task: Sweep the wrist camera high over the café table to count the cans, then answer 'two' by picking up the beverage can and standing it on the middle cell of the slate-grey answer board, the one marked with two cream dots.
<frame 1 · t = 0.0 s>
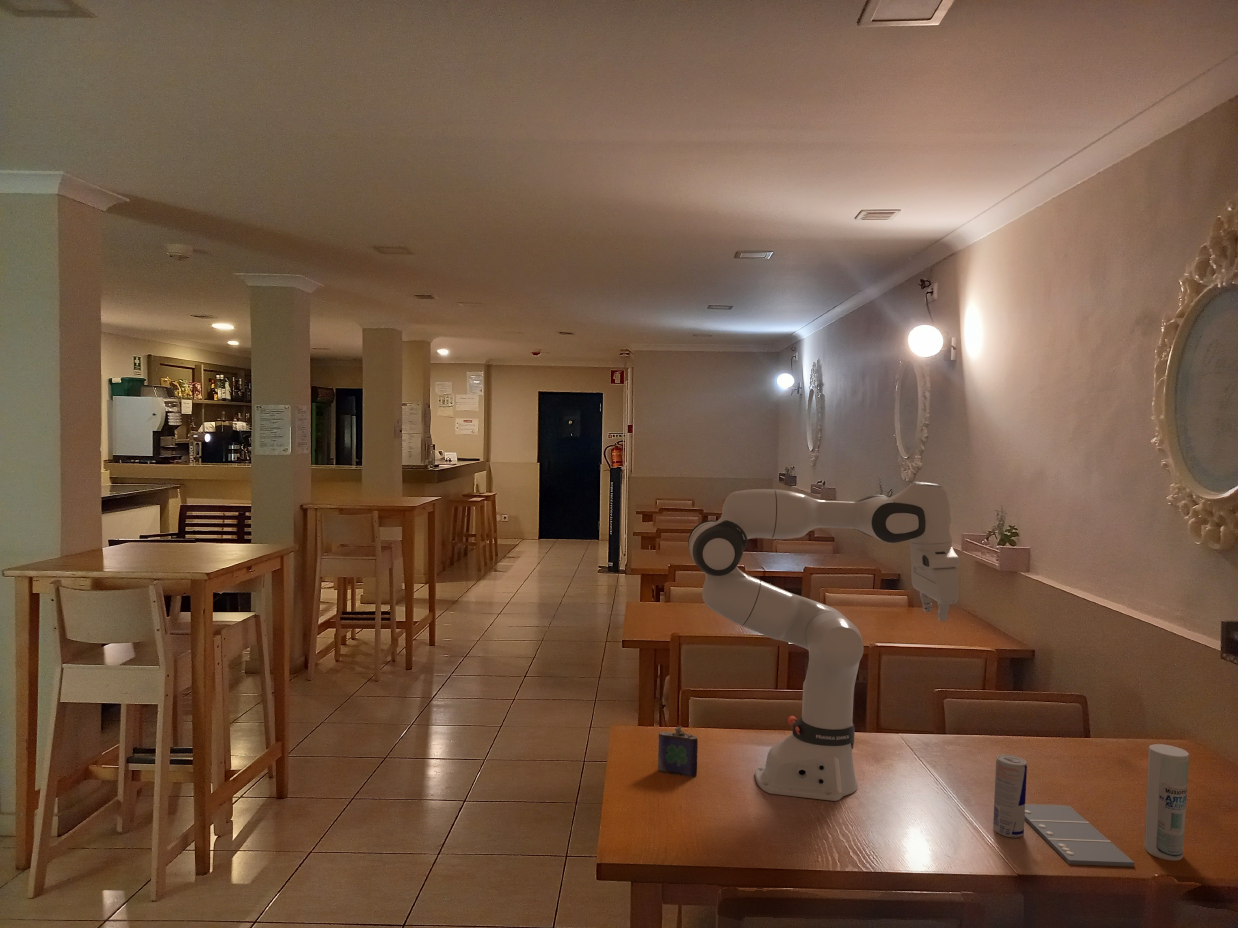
hand: (935, 615, 190), 39 cm above the table, tool pointing down, fingers open, 8 cm apart
answer board: (1068, 834, 170), on the table
spray can: (1163, 853, 164), on the table
flask: (677, 773, 196), on the table
beverage can: (1008, 833, 171), on the table
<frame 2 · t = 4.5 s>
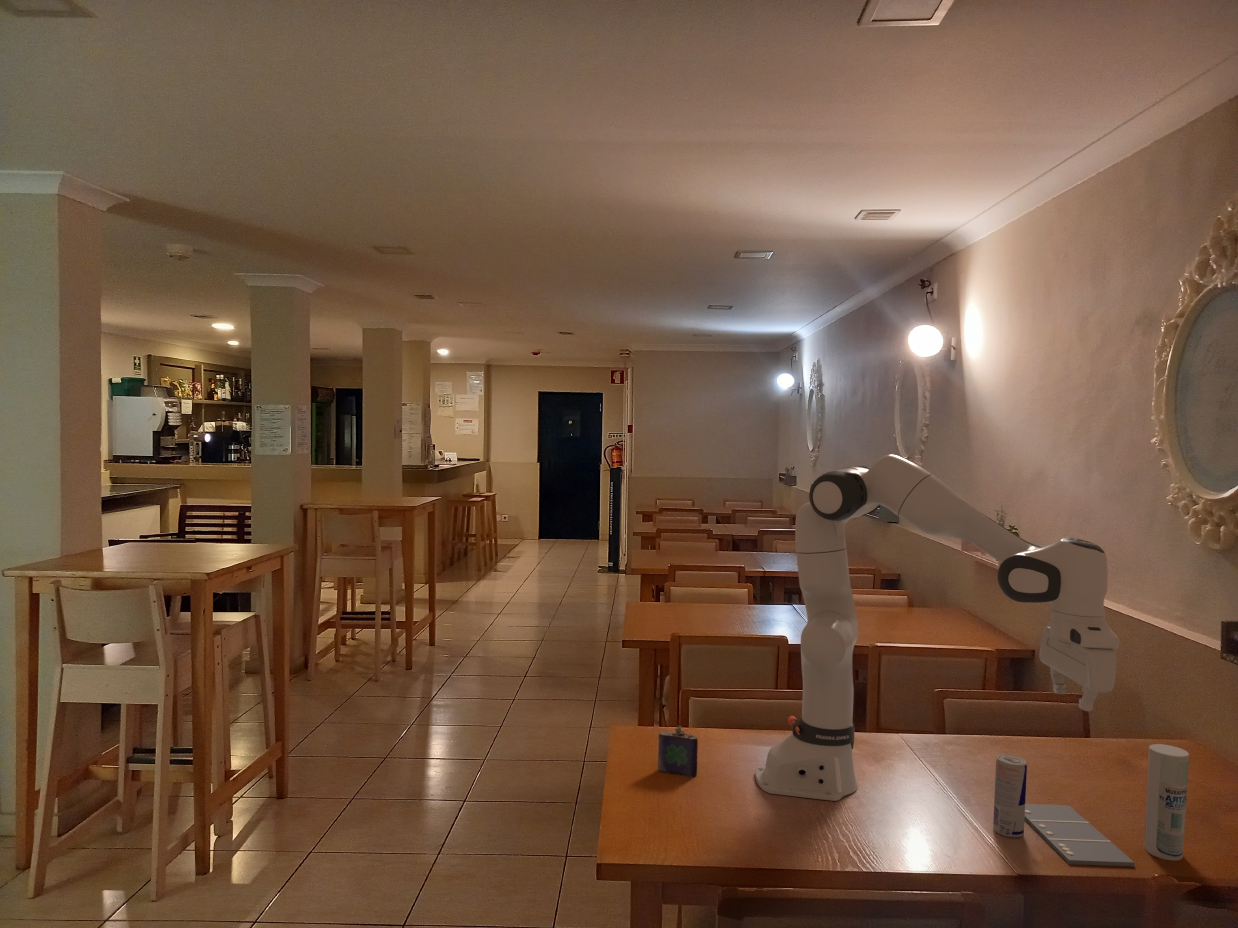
hand: (1071, 701, 158), 30 cm above the table, tool pointing down, fingers open, 8 cm apart
nothing on the table moved.
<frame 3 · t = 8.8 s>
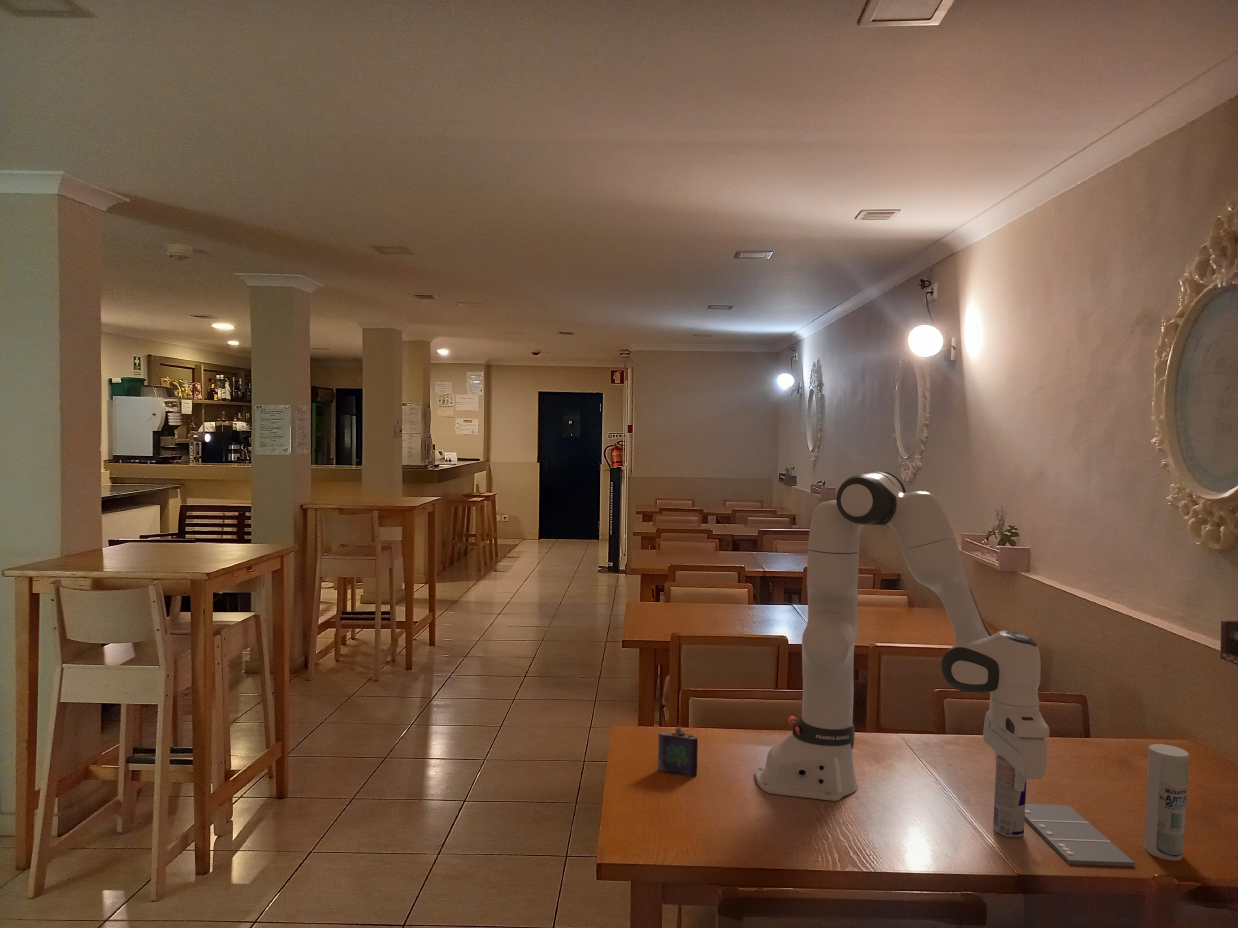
hand: (1010, 782, 170), 10 cm above the table, tool pointing down, fingers closed on beverage can, 5 cm apart
beverage can: (1008, 833, 171), on the table, touching gripper
everything else where it was.
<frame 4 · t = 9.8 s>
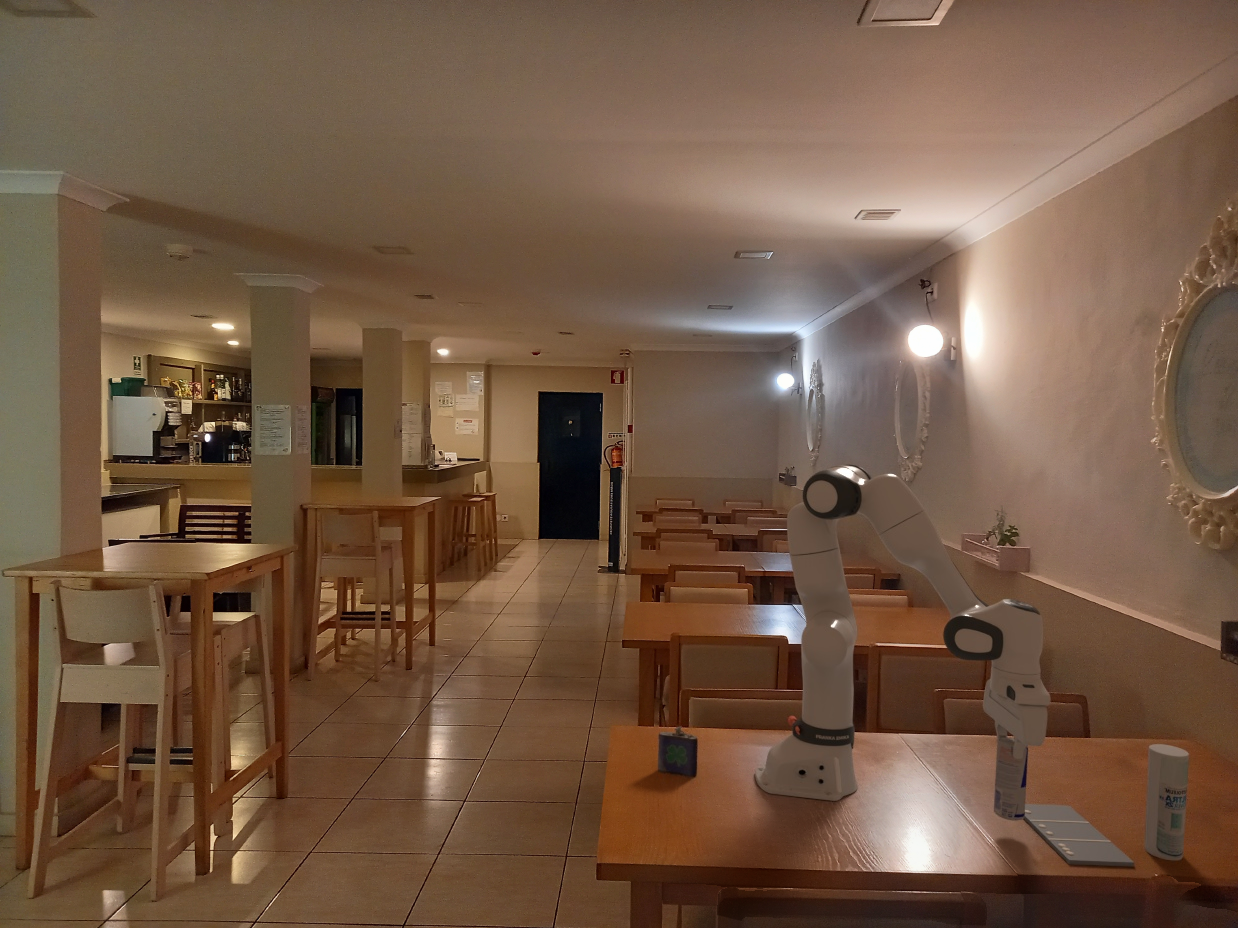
hand: (1009, 750, 170), 16 cm above the table, tool pointing down, fingers closed on beverage can, 5 cm apart
beverage can: (1008, 817, 170), point 3 cm above the table, touching gripper
everything else where it was.
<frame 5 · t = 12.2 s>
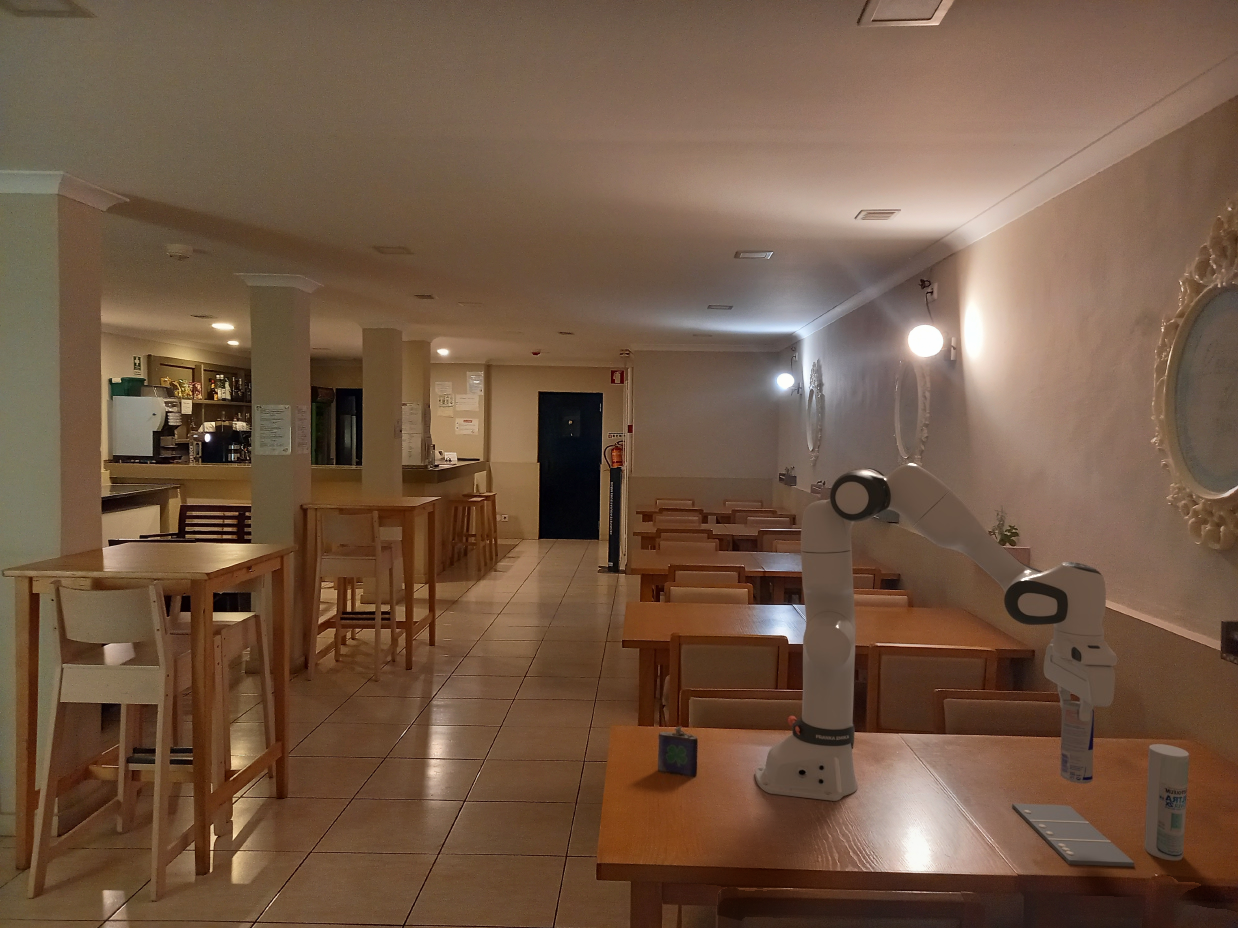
hand: (1074, 714, 169), 24 cm above the table, tool pointing down, fingers closed on beverage can, 5 cm apart
beverage can: (1076, 780, 169), point 11 cm above the table, touching gripper
everything else where it was.
when the fingers open (12 cm above the table, at t = 14.7 s): beverage can stays where it is, resting on answer board.
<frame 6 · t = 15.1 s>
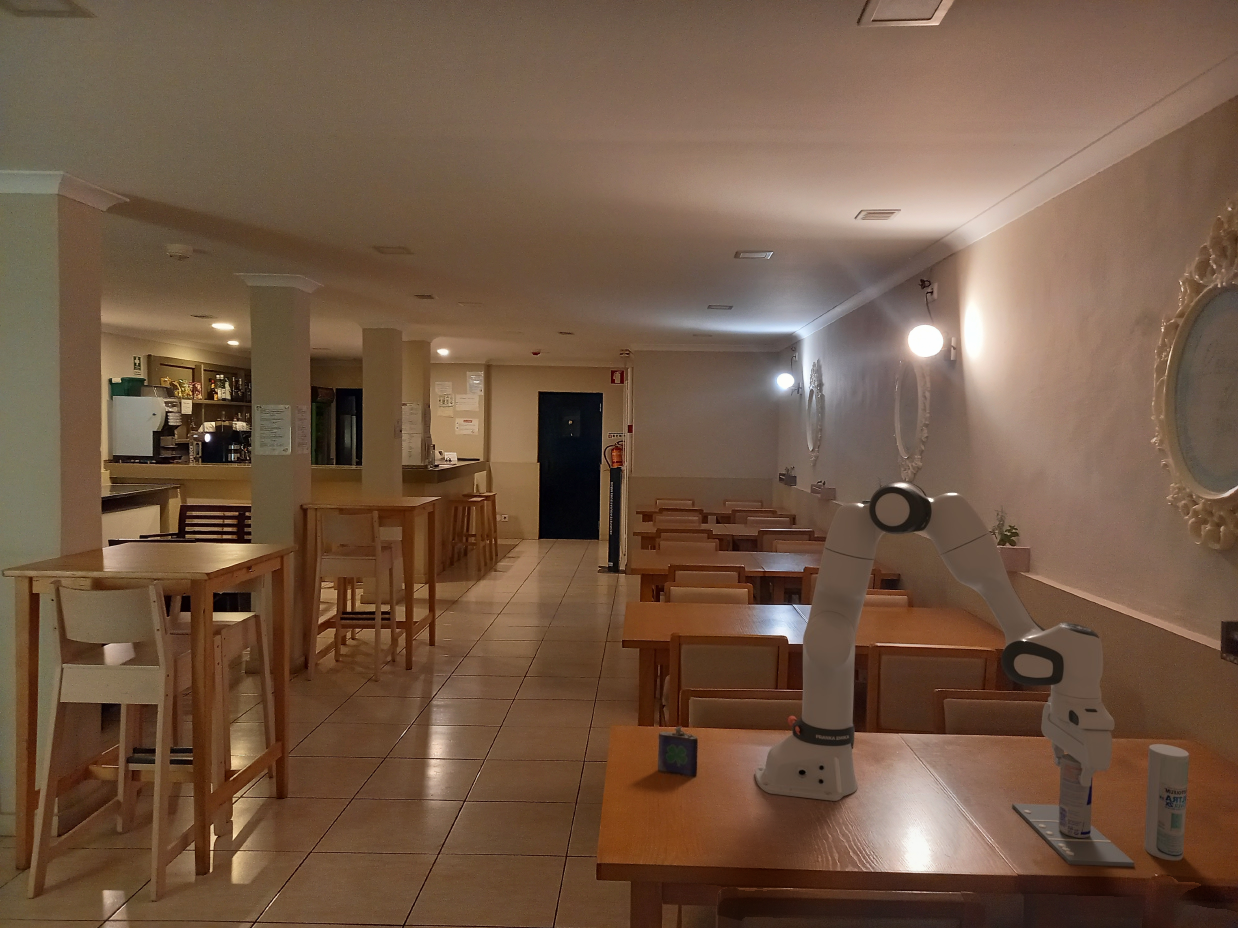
hand: (1072, 774, 170), 12 cm above the table, tool pointing down, fingers open, 8 cm apart
beverage can: (1074, 833, 169), point 1 cm above the table, touching answer board
everything else where it was.
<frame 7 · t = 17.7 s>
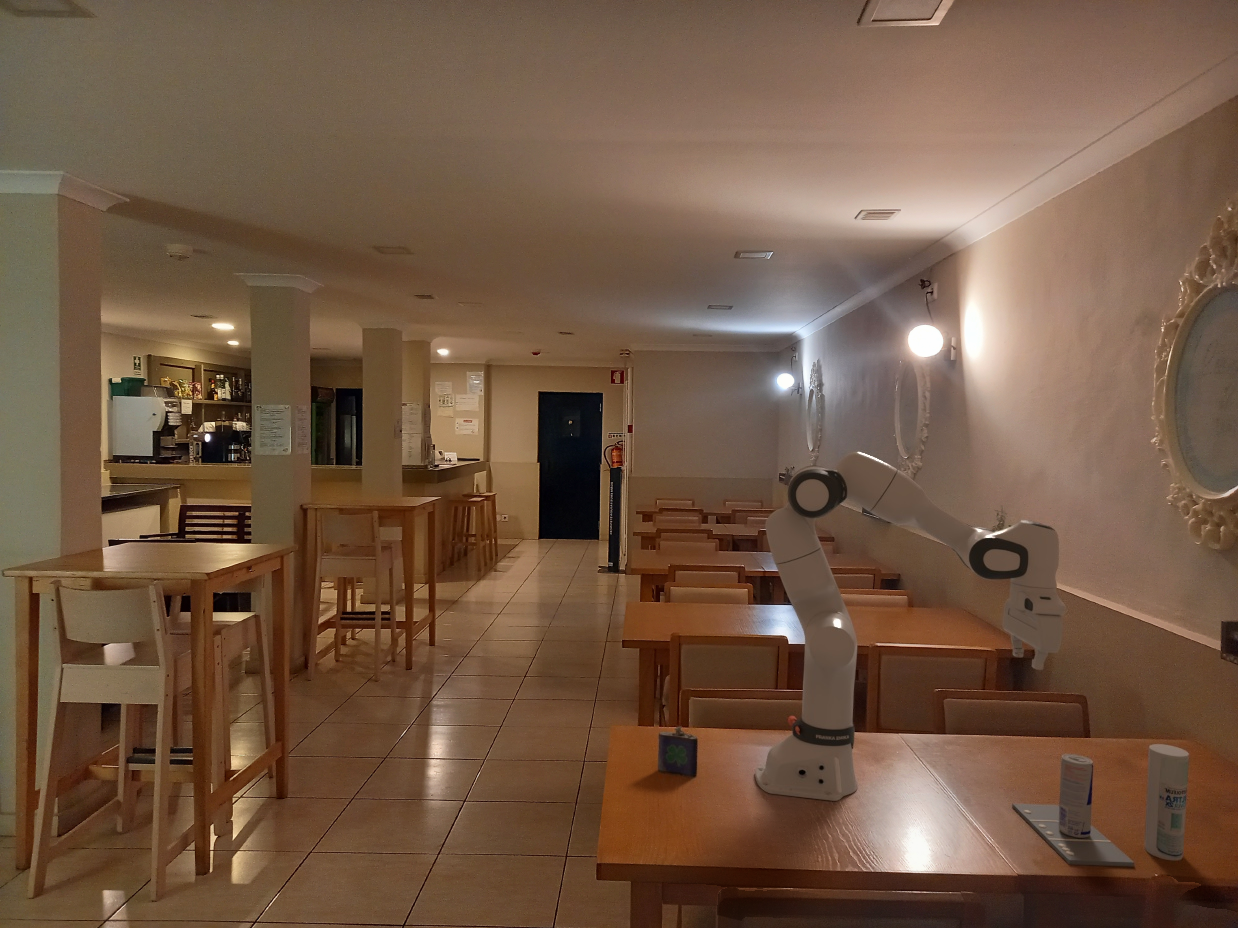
hand: (1027, 662, 181), 31 cm above the table, tool pointing down, fingers open, 8 cm apart
nothing on the table moved.
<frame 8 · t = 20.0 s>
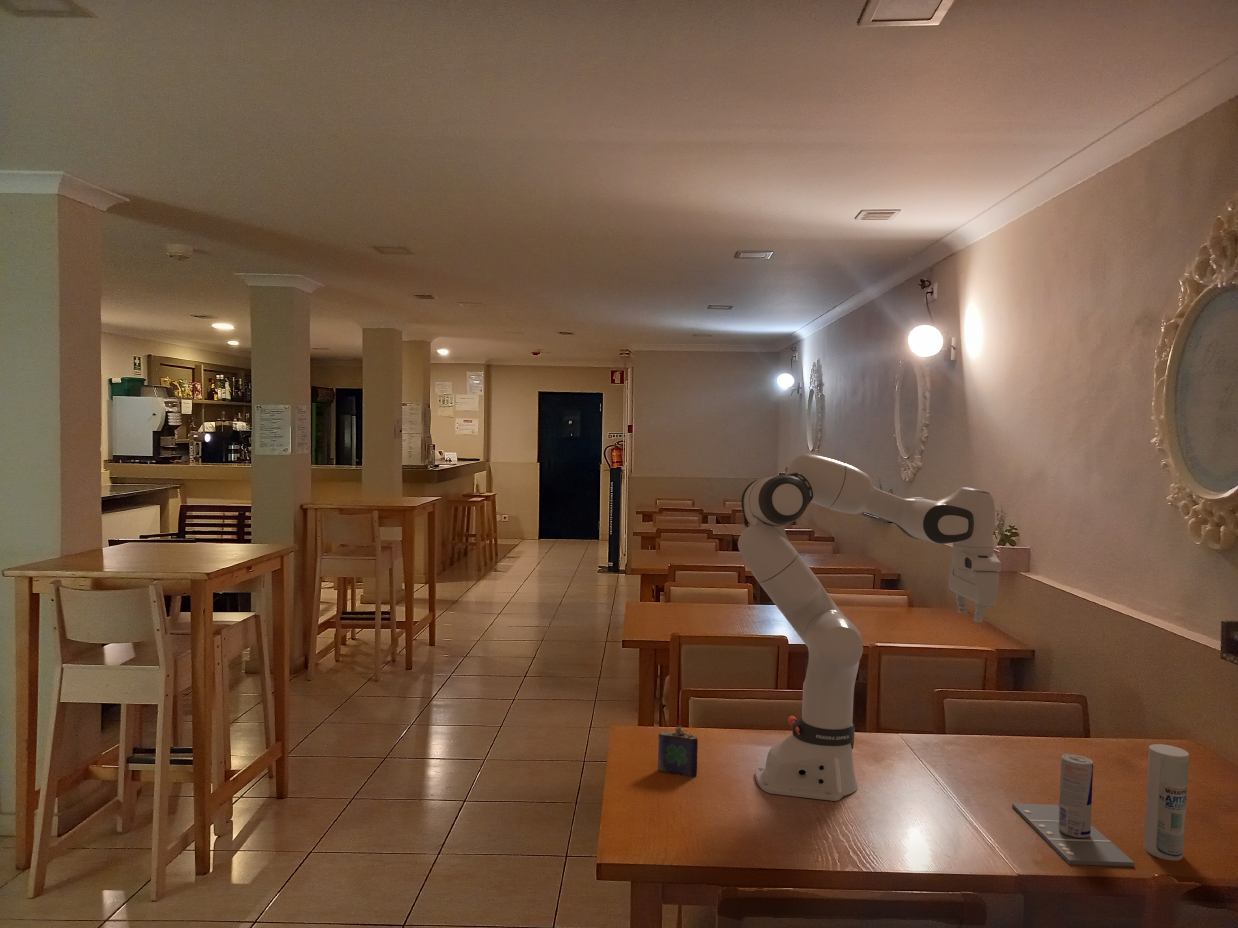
hand: (970, 617, 198), 37 cm above the table, tool pointing down, fingers open, 8 cm apart
nothing on the table moved.
at the end: beverage can inside the target area on the answer board (1.1 cm from its centre), point 0.7 cm above the answer board's base; beverage can tilted 1°; the gripper is holding nothing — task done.
